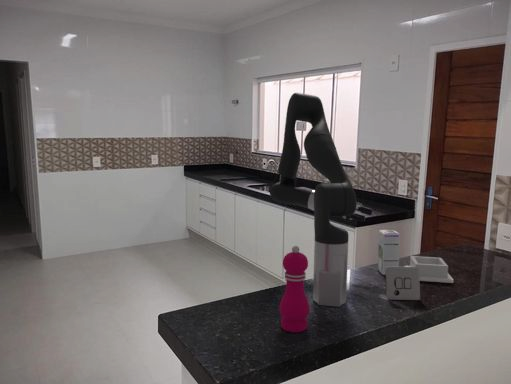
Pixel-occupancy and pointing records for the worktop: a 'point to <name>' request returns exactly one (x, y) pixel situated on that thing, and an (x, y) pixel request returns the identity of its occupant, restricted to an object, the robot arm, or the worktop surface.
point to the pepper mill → (294, 292)
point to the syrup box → (388, 250)
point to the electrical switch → (402, 283)
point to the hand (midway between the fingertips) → (368, 215)
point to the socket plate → (431, 269)
